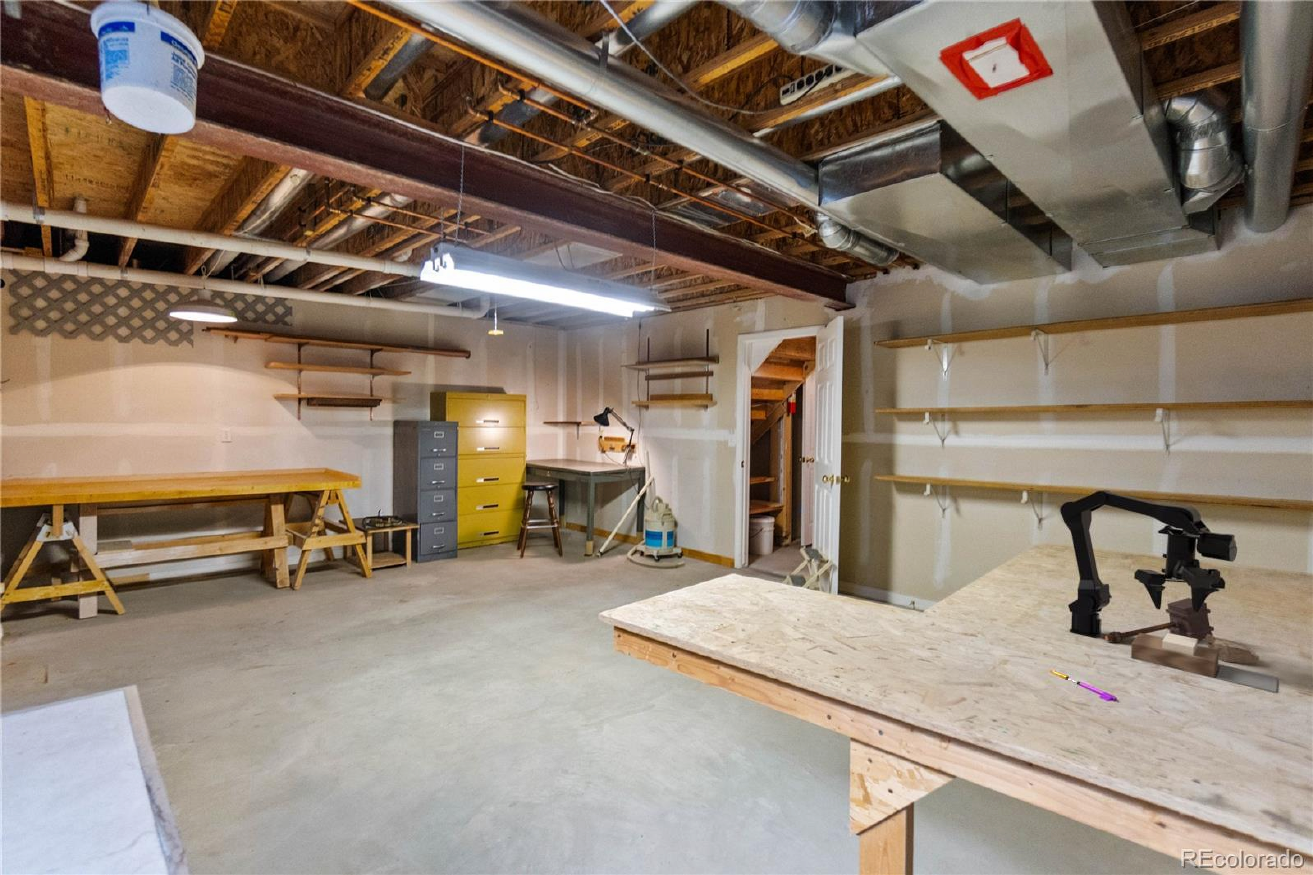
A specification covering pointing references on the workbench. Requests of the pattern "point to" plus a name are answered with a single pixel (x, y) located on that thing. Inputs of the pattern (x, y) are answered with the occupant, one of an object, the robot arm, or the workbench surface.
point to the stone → (1232, 651)
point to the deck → (1175, 656)
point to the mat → (1247, 678)
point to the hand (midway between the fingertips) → (1176, 610)
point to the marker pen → (1089, 688)
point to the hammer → (1176, 622)
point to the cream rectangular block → (1180, 644)
